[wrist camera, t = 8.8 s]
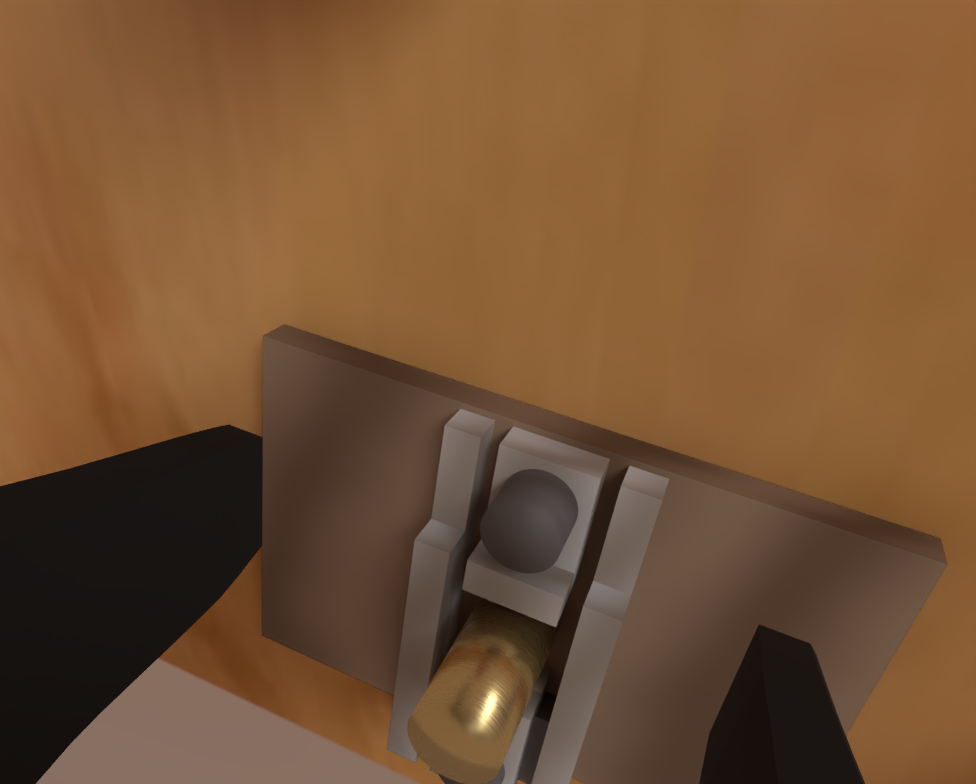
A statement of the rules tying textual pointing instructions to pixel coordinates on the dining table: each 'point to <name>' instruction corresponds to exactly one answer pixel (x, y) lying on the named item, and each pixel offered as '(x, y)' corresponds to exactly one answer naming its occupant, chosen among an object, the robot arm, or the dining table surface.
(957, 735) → the dining table surface
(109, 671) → the robot arm
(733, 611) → the grey mounting plate
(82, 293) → the dining table surface
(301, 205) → the dining table surface
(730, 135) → the dining table surface
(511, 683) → the brass pin
